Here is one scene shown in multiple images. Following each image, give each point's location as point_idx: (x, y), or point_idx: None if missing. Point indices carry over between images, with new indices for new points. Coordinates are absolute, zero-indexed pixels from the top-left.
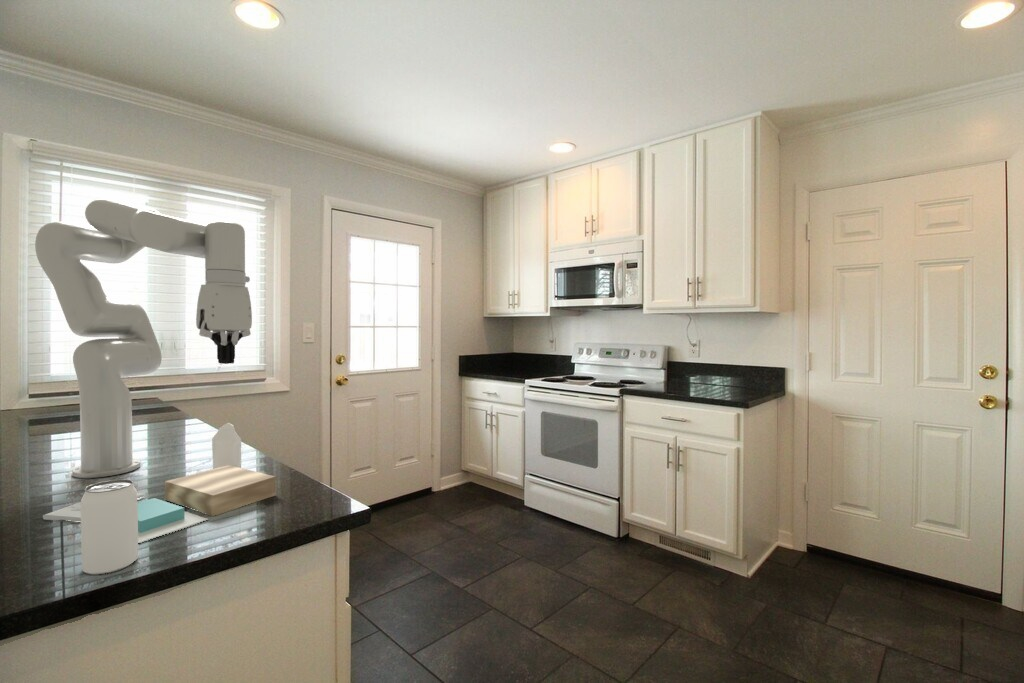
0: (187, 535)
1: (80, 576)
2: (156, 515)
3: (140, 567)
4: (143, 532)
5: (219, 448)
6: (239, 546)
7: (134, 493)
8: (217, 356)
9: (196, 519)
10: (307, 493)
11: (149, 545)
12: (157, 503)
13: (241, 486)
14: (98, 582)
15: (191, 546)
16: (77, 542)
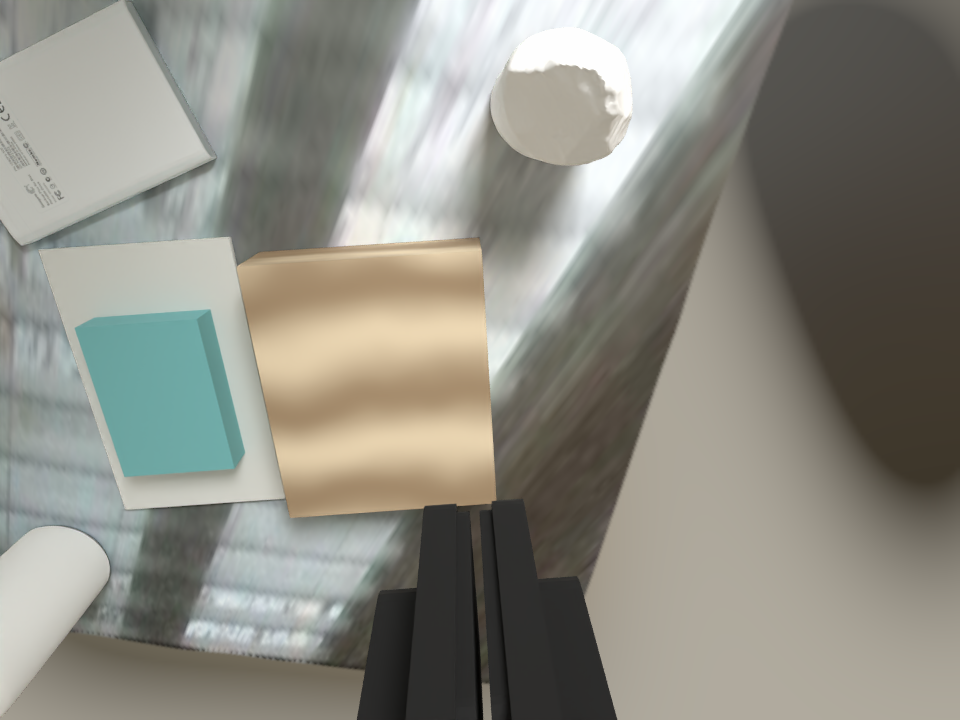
0: (220, 538)
1: None
2: (164, 468)
3: (109, 605)
4: None
5: (510, 131)
6: (275, 654)
7: (2, 715)
8: (376, 615)
9: (264, 481)
10: (553, 520)
11: (144, 527)
12: (190, 378)
13: (380, 509)
14: None
15: (208, 592)
16: (16, 388)
